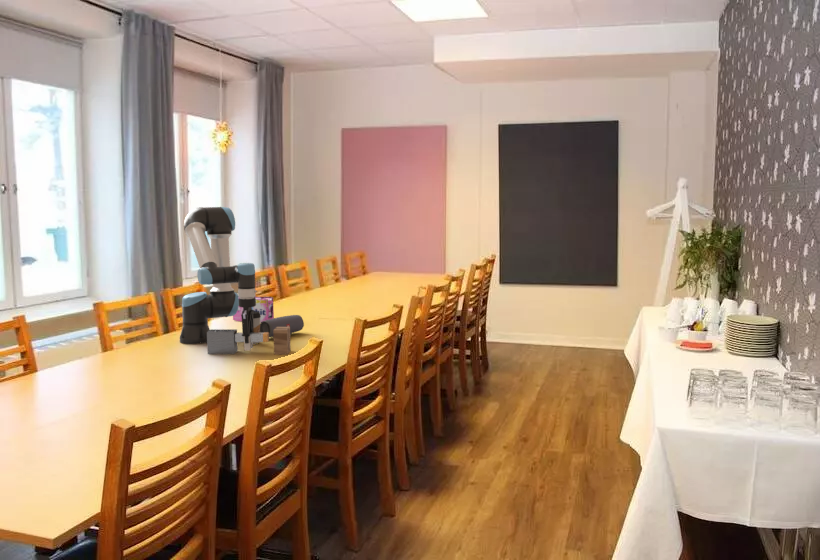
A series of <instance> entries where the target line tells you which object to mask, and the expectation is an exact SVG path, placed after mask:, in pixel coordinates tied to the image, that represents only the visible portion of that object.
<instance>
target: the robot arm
mask: <svg viewBox="0 0 820 560" xmlns="http://www.w3.org/2000/svg"><path fill="white" fill-rule="evenodd" d="M235 229H236V218H235V216H234V212H233V211H232V209H231V208H229V207H226V206H215V207H214V206H213V207H212V206H211V207H209V206H207V207H206V206H205V207H202V206H201V207H195V208H193V209H191V210H190V211H189V212H188V213H187V214H186V216H185V218H184V221H183V231H184V233H185V235H186V236H187V237H188V238H189V241H190V244H191V246H192V249H193V252H194V255H195V258H196V260H197V263H198V267H199V268H198V269H197V273H196V274H197V281H198V283H199V284H200V285H206V286H208V285H209V286H210V285H212V288H211V289H210V290H209V294H207V292H206V291H197V292H193V293H189V294H186V295H184V296H183V297H182V298H181V309H182V311H181V313H182V328H181V331H180V334H179V342H180V343H181V344H187V345H188V344H193V345H194V344H195V345H197V344H204V343H207V332H208V331H209V330H211V329H210V327H209V322H208V319H218V318H228V317H229V318H230V317H233V316H234V315H235V314H236V313H237V311H238V307H243V311H242V314H241V317H242V321H241V326H242V327H241V329H242V331H241V333H243V334H242V336H244V342H243V348H244V351H251V350H252V349H254V345H253V342H250V333H254V332H253V331H254V325H253V312H254V310H252V307H254V306H256V299H255V298H254V297H255V296H256V293H257V291H258V290H256V269H255V264H254V263H252V262H243V263H242V262H241V263H238V264H237V265H232V266H231V263H230V262H231V261H230V242H229V238H230V237H231V236H232V232H233V231H235ZM208 238H210V243H209V240H208ZM234 283H235V284H236V283H237V290H238V291H237V292H235V289H234V288H233V287H232V285H231V284H234ZM238 297H239V298H238ZM256 297H257V296H256Z"/></svg>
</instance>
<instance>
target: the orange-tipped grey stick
mask: <svg viewBox="0 0 820 560" xmlns="http://www.w3.org/2000/svg"><path fill="white" fill-rule="evenodd" d="M242 334H243V333H242V332H237V333H234V342H237V343H244V336H242ZM269 341H270V337H269V332H264V333H250V342H259V343H269Z"/></svg>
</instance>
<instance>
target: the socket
mask: <svg viewBox="0 0 820 560" xmlns="http://www.w3.org/2000/svg"><path fill="white" fill-rule="evenodd" d="M273 334H274V338H273V354H274V355H289V354H290V352H291V348H292V347H291V335H290V327H276V328H275V329H274V330H273Z"/></svg>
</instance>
